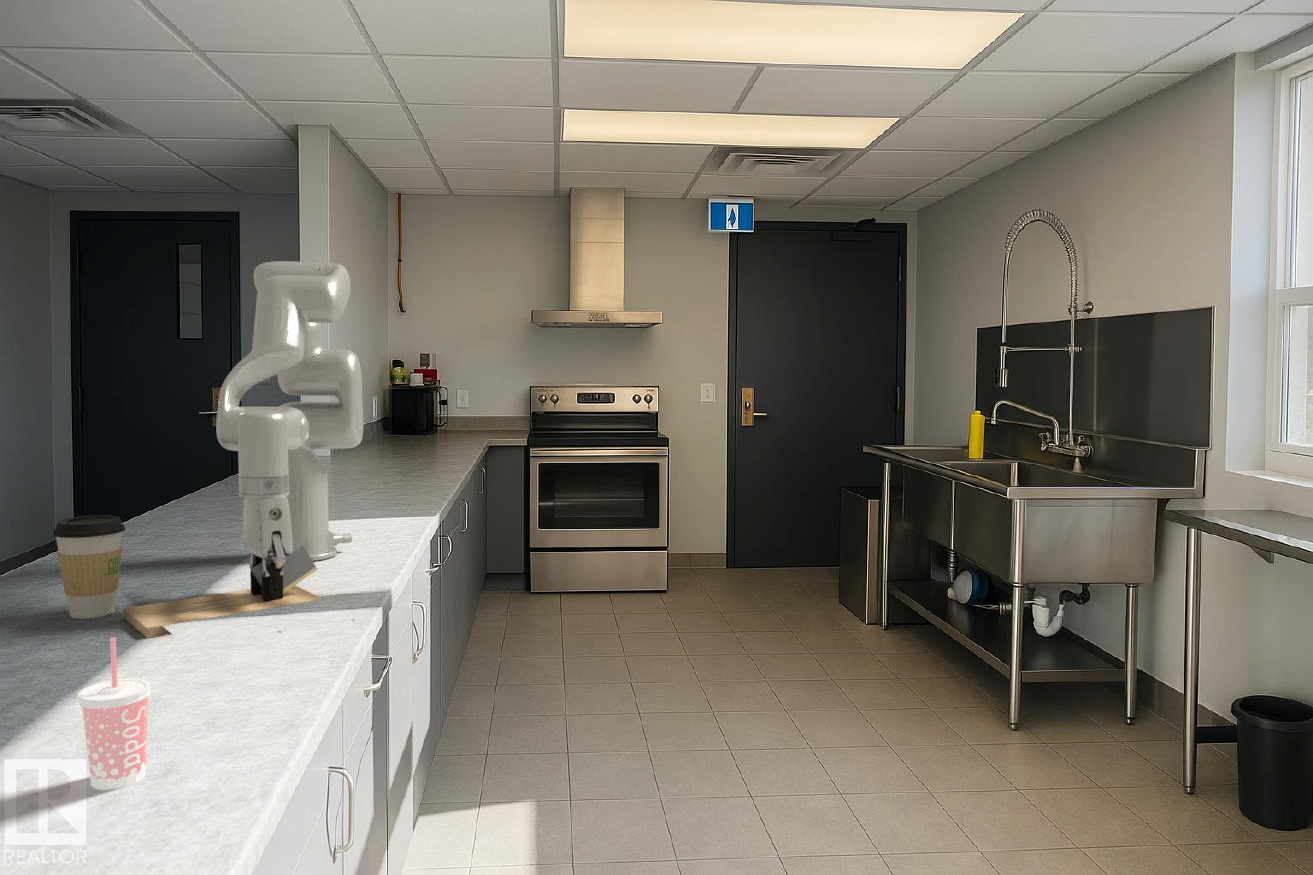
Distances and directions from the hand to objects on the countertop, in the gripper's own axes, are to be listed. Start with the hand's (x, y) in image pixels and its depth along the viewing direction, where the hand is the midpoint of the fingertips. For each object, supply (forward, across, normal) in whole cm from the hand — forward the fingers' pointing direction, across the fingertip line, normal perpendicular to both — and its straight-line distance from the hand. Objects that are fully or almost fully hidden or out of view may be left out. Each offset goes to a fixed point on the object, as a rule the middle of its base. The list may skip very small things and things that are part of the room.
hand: (267, 595), depth 154 cm
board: (+2, 0, +7) cm, 7 cm away
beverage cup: (+2, -55, +33) cm, 64 cm away
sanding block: (-2, 0, -4) cm, 4 cm away
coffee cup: (+2, +13, +23) cm, 26 cm away
